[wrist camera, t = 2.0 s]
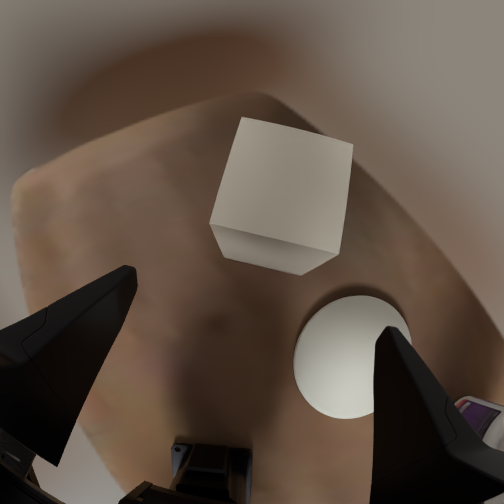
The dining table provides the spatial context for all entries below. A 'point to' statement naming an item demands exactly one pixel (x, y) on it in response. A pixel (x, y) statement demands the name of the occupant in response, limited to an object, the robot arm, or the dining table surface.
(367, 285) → the dining table surface
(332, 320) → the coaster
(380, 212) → the dining table surface
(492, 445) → the pill bottle
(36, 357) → the robot arm
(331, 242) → the cover
